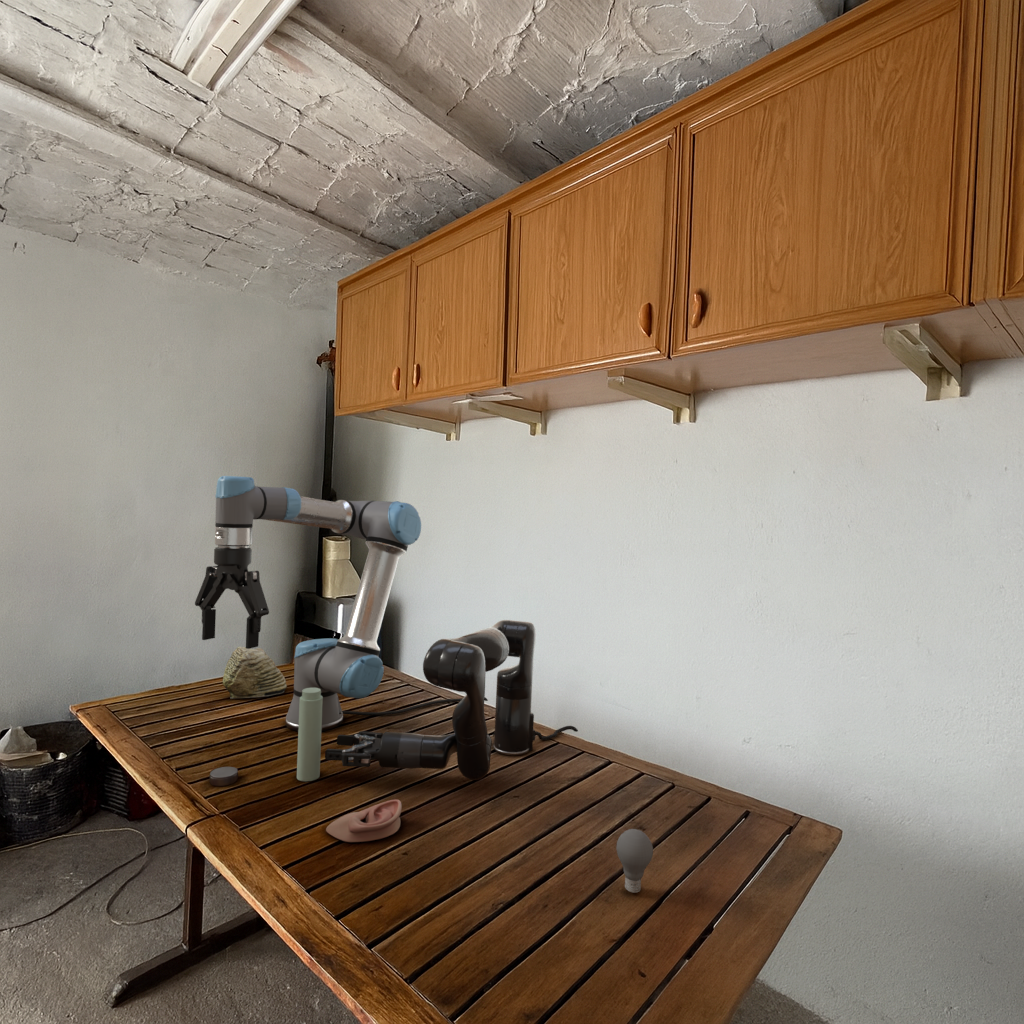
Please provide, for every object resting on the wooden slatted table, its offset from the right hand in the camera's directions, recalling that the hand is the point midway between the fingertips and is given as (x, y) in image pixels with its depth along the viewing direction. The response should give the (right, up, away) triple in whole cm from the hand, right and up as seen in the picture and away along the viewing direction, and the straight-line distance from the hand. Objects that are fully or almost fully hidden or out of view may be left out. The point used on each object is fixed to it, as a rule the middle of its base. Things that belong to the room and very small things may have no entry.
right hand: (331, 746), depth 143 cm
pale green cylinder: (-5, -7, 0) cm, 8 cm away
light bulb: (+61, -10, -38) cm, 72 cm away
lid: (-23, -4, -4) cm, 23 cm away
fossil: (-40, -4, +55) cm, 68 cm away
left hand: (-21, +24, -4) cm, 33 cm away
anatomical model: (+12, -8, -21) cm, 26 cm away
